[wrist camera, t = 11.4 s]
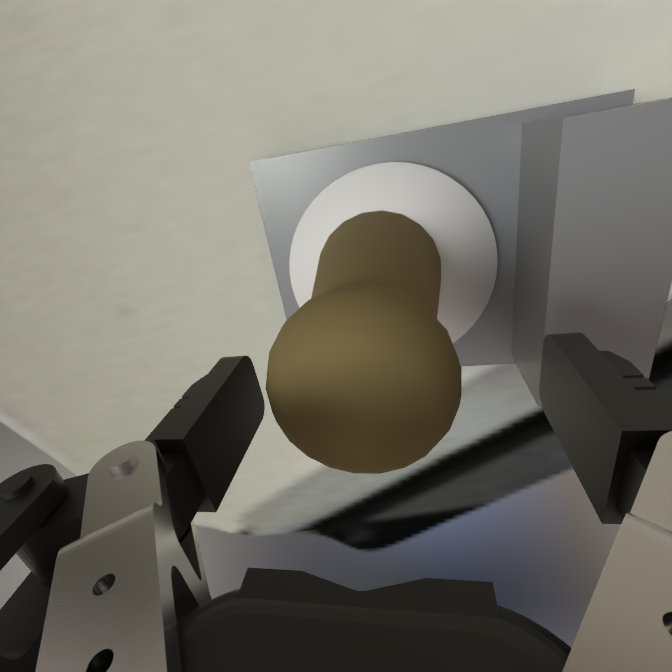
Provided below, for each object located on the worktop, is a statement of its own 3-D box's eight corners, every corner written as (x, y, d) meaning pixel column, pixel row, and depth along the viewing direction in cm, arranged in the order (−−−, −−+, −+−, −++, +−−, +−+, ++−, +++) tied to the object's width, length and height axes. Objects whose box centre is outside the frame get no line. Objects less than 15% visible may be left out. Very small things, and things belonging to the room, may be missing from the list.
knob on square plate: (618, 93, 16) (745, 65, 10) (584, 336, 22) (655, 411, 16) (264, 160, 20) (206, 168, 14) (308, 356, 25) (280, 423, 19)
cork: (452, 315, 19) (508, 499, 9) (338, 340, 20) (284, 518, 11) (427, 192, 16) (469, 266, 7) (301, 231, 18) (187, 336, 8)
